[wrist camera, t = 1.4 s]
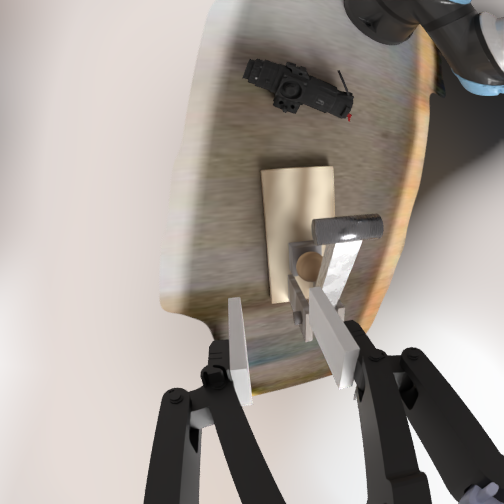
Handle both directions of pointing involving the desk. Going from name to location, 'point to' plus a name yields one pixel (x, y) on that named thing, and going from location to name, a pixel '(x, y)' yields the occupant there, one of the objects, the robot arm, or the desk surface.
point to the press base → (296, 234)
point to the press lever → (341, 248)
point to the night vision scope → (298, 88)
